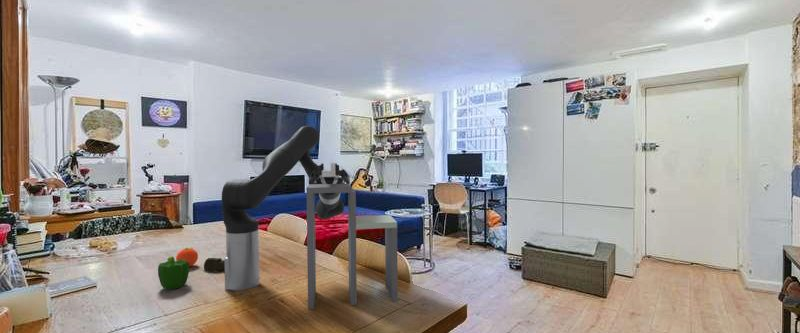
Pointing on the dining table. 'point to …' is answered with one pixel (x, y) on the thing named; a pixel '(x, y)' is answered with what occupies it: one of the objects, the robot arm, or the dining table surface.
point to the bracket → (329, 171)
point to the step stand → (351, 241)
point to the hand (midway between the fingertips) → (329, 166)
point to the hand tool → (214, 264)
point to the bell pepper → (173, 273)
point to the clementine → (188, 256)
